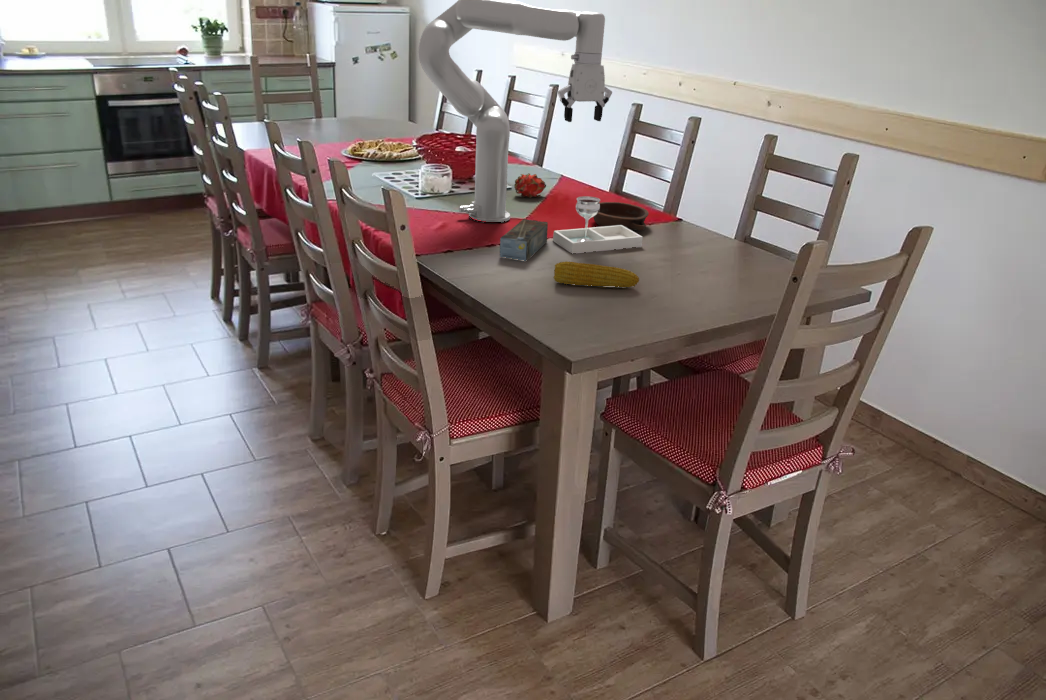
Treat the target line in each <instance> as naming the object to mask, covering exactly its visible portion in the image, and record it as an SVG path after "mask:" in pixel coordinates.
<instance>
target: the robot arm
mask: <svg viewBox="0 0 1046 700" xmlns="http://www.w3.org/2000/svg"><path fill="white" fill-rule="evenodd" d="M605 24H606V16H605V14H603V13H601V12H597V11H582V12H581V11H575V10H570V9H562V8H561V9H551V8H543V7H537V6H532V5H529V4H526V3H524V2H521V1H517V0H457V1H456V2H455V3H454V4H452V5H451V6H450V7H448V8H447V9H446V10H445V11H443V12H442V13H441V14H440V15H438V16H437V17H436V18H433V20H432V21H431V22H429V23H428V24H427V25H426V26H425V28H424V29H423V30H422V33H421V37H420V39H419V44H418V51H417V52H418V53H417V54H418V60H419V63H420V66H421V68H422V70H423V72H424V74H425V75H426V76H427V77H428V79H429V80H430V81H431V82H432V83H433V85H434V86H435V87H436V88H437V89H438V91H439V92H440V93H441V94H442V95H443V96H444V97H445V98H446V100H447V101H448V102H449V103H450V105H451V106H452V107H453V108H454V110H455V111H456V112H457V113H458V114H460V115H461V116H464V117H467V118H468V120H469V121H470V122H471V123H472V124H473V125H474V126H475V128H476V129H475V130H476V132H475V138H476V139H475V141H476V144H475V173H474V174H475V178H474V180H475V181H474V200H473V201H471V203H470V204H468V205H459V206H458V210H459V211H458V212H459V213H466V214H468V217H469V216H470V217H472V218H474V219H477V220H481V221H486V222H501V223H505V222H507V221H509V220H510V219H511V213H510V212H508V211H507V210H506V208H507V207H506V206H507V205H506V204H507V189H508V168H509V167H508V164H509V163H508V162H509V148H510V147H509V146H510V135H511V134H510V133H511V132H510V131H511V127H510V120H509V117H508V114H507V113H506V111H505V110H504V109H503V108H502V107H501V106H500V104H499V103H498V102H497V101H496V100H495V99H494V98H493V97H492V95H491V94H490V93H489V92H488V91H487V89H486V88H485V87H484V86H483V85H482V84H481V83H480V82H479V81H477V80H476V79H473V78H470V77H468V76H467V74H466V73H465V72H464V71H463V70H462V68H461V67H460V66H459V65H458V64H457V63H456V62H455V61H454V60H453V58H452V57H451V55H450V49H451V47H452V46H453V45H454V44H455V43H457V42H458V41H459V40H460V39H462V38H463V37H464V36H465V35H467V34H468V33H469V32H471V31H472V30H481V31H490V32H498V33H504V34H511V35H515V36H516V35H517V36H528V37H534V38H539V39H548V40H555V41H556V40H557V41H563V42H566V41H570V40H572V39H574V38H576V39H575V51H574V53H573V54H571V55H570V59H571V60H572V61H574V62H573V63H572V65H571V69H570V72H569V77H568V82H567V83H568V84H567V85H566V86H564V87H563V88H561V89H559V90H558V91H557V95H558V97H559V101H560V103H561V104H562V105H563V106H564V113H563V118H564V121H566V122H568V123H572V121H573V111H574V110H573V109H574V108H572V106H573V105H574V104H575V102H583V103H584V102H595V104H596V105H595V106H594V112H593V120H594V121H597V122H601V121H602V117H603V110H604V109H603V108H604V107H605V106H606V105H607V103H608V102H609V101H610V98H611V96H612V95H613V91H612V90H611V89H609V88H608V87H607V86H606V84H605V83H606V82H605V81H606V80H605V79H606V77H605V76H606V74H605V65H604V64H602V55H603V45H604V33H605ZM565 94H566V97H567V98H566V97H565ZM470 217H469V218H470ZM504 221H505V222H504Z"/></svg>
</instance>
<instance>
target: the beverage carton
mask: <svg viewBox="0 0 1046 700" xmlns="http://www.w3.org/2000/svg"><path fill="white" fill-rule="evenodd" d="M548 225H549V224H548V221H541V220H534V219H533V220H532V219H526V218H522V220H521V221H519V222H518V223H516V225H514V226H513V227H512V228H511V229H510V230H509V231H507V232H506V233H505V234H504V235H502V236H501V237H500V238H499V241H500V243H499V244H500V245H499V257H506V258H512V259H518V260H524V261H526V260H527V259H528V260H530V259H531V256H532V255H533V254H534V253H535V254H536V253H537V252H538V251H539V250H540V249H541V248H543V246H544V245H545V244H546V243H547V242H548V228H549V227H548ZM535 254H534V255H535ZM534 255H533V256H534ZM528 260H527V261H528ZM527 261H526V262H527Z"/></svg>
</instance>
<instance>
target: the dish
mask: <svg viewBox="0 0 1046 700" xmlns="http://www.w3.org/2000/svg"><path fill="white" fill-rule="evenodd" d="M599 204H600V210H599V212H598V214H596V215H595V216H594V217H592V218H593V220H594V222H595V224H596V225H598V226H599V227H604V226H616V225H623V226H624V227H626V228H628V229H630V230H632V231H633V230H634V231H637V232H638V231H640V232H642V231H645V228H646V223H645V221H646V218H647V217H648V216H649V213H650V212H649V211H648V210H647V209H645V208H644V207H642V206H639V205H635V204H633V203H625V202H619V201H617V202H616V201H600V202H599Z"/></svg>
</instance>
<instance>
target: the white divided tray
mask: <svg viewBox="0 0 1046 700" xmlns="http://www.w3.org/2000/svg"><path fill="white" fill-rule="evenodd" d="M552 234H553V235H552V236H553V237H552V242H554V243H556V244H557V245H558V246H560V247H561V248H562V249H564V250H566V251H567V252H569V253H570V254H571V253H572V255H574V254H573V253H576V254H583V253H584V252H586V253H594V252H593V251H596V252H605V251H615V250H614V249H616V250H622V249H623V248H626V249H633V248H632V247H636V248H642V245H643V236H642V235H640V234H638V233H637V232H635V231H633V230H630V229H628V228H626V227H624V226H623V225H616V226H604V227H602V226H596V227H595V226H593V227H587V236H586V238H587V239H591V240H593V241H582V242H577V240H578V239H581V238H585V227H584V228H583V227H581V228H570V229H560V230H558V229H557V230H553V233H552ZM623 250H624V249H623Z"/></svg>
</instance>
